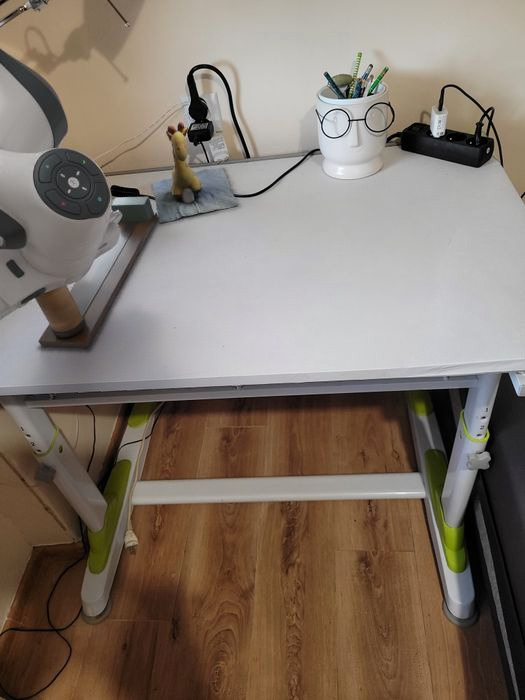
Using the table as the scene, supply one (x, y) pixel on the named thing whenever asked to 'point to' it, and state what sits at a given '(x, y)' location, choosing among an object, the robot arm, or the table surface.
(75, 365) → the table surface
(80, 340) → the track board
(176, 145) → the stuffed giraffe
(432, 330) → the table surface
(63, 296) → the upright wooden cylinder
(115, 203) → the stop block
